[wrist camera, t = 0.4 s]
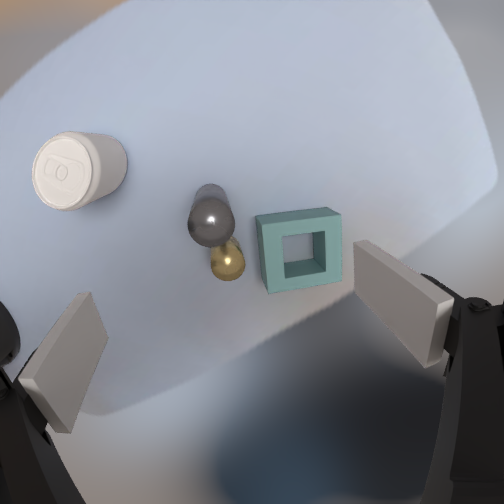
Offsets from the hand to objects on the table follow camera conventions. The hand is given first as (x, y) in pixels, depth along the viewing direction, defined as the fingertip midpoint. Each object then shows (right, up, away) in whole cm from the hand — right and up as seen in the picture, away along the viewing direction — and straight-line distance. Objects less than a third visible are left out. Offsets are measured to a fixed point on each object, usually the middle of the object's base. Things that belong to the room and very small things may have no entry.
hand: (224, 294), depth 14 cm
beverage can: (-19, +13, +21) cm, 31 cm away
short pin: (-2, +2, +27) cm, 27 cm away
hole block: (+7, +3, +28) cm, 29 cm away
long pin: (-4, +9, +25) cm, 27 cm away
